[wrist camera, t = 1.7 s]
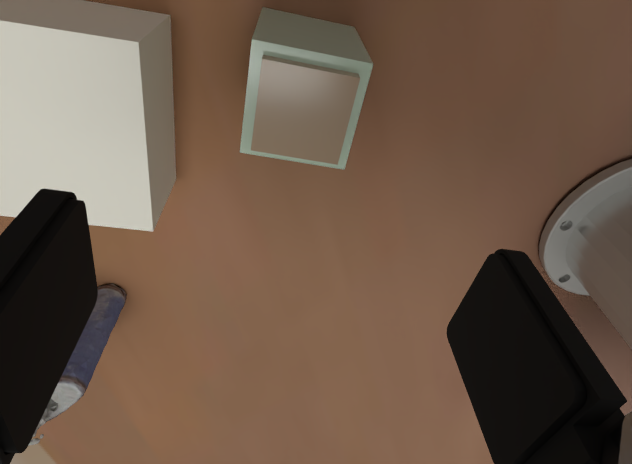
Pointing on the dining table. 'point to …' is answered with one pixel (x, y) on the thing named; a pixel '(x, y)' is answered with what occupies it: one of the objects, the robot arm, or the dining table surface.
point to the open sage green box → (304, 89)
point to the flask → (85, 353)
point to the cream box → (87, 108)
